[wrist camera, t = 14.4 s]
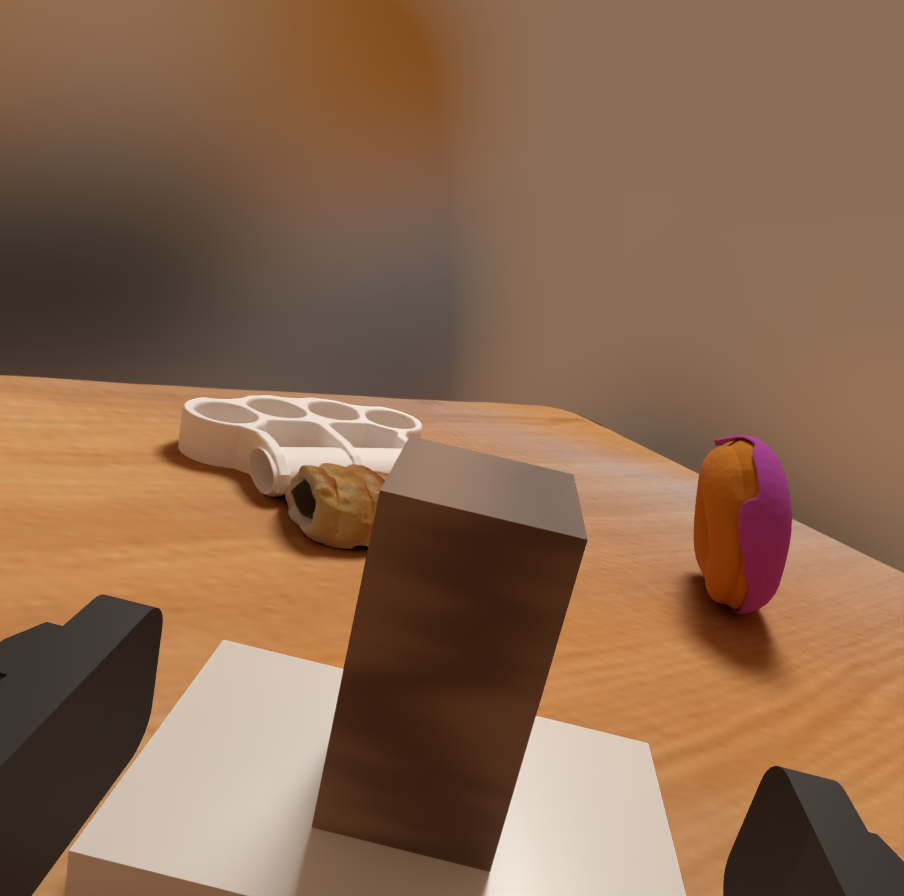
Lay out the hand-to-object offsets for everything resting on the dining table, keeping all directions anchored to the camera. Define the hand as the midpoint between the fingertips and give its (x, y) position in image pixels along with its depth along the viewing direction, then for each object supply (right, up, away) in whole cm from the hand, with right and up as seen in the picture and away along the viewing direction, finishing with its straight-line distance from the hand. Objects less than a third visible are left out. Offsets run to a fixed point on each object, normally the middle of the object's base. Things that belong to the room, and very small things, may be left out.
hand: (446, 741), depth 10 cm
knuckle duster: (-10, +2, +45) cm, 46 cm away
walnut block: (-1, -6, +13) cm, 15 cm away
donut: (+16, -5, +37) cm, 41 cm away
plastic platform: (-1, -8, +14) cm, 16 cm away
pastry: (-6, -1, +36) cm, 36 cm away
